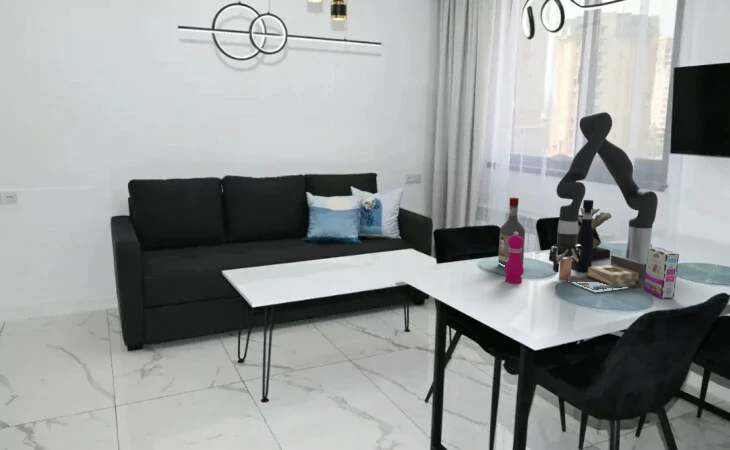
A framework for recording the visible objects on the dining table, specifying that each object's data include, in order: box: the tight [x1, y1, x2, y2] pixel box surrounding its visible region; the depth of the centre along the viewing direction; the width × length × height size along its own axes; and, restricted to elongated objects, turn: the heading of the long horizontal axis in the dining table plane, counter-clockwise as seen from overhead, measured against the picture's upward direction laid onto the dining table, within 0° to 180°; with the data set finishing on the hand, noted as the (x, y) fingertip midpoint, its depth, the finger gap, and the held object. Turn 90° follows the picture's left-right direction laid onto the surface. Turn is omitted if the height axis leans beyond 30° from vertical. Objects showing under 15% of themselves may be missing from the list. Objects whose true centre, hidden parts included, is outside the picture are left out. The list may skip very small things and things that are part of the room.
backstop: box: [565, 254, 647, 290], centre depth 208 cm, size 24×16×9 cm
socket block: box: [587, 264, 639, 285], centre depth 209 cm, size 13×13×4 cm
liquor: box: [498, 197, 526, 266], centre depth 232 cm, size 9×9×30 cm
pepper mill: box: [504, 232, 525, 284], centre depth 211 cm, size 7×7×20 cm
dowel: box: [558, 257, 573, 281], centre depth 216 cm, size 4×4×8 cm
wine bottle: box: [576, 199, 595, 274], centre depth 225 cm, size 6×6×30 cm
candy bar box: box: [643, 247, 680, 300], centre depth 195 cm, size 11×5×16 cm, turn 5°
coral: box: [552, 207, 613, 262], centre depth 257 cm, size 25×20×21 cm
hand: (564, 271), depth 216 cm, fingers open, 8 cm apart
